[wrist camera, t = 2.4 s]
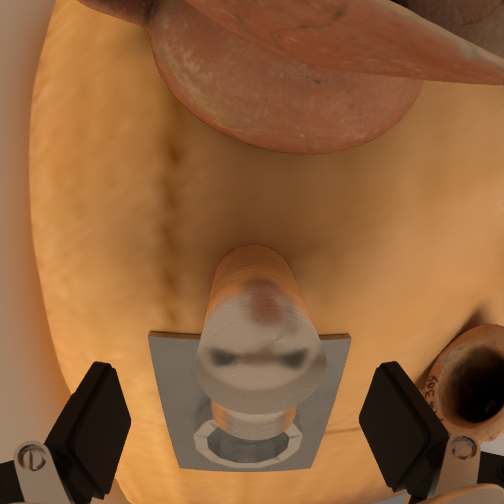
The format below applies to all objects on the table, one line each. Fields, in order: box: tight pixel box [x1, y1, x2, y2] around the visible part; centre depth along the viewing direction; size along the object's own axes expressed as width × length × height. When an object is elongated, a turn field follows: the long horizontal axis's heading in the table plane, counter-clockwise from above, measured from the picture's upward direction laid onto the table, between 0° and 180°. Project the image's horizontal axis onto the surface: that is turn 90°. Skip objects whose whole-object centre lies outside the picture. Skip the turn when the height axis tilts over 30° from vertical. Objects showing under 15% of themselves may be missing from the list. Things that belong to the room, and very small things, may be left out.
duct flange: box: [148, 332, 351, 472], centre depth 20 cm, size 18×14×3 cm
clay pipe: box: [423, 324, 504, 444], centre depth 19 cm, size 19×11×15 cm
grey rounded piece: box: [195, 245, 327, 440], centre depth 14 cm, size 7×5×8 cm, turn 178°
